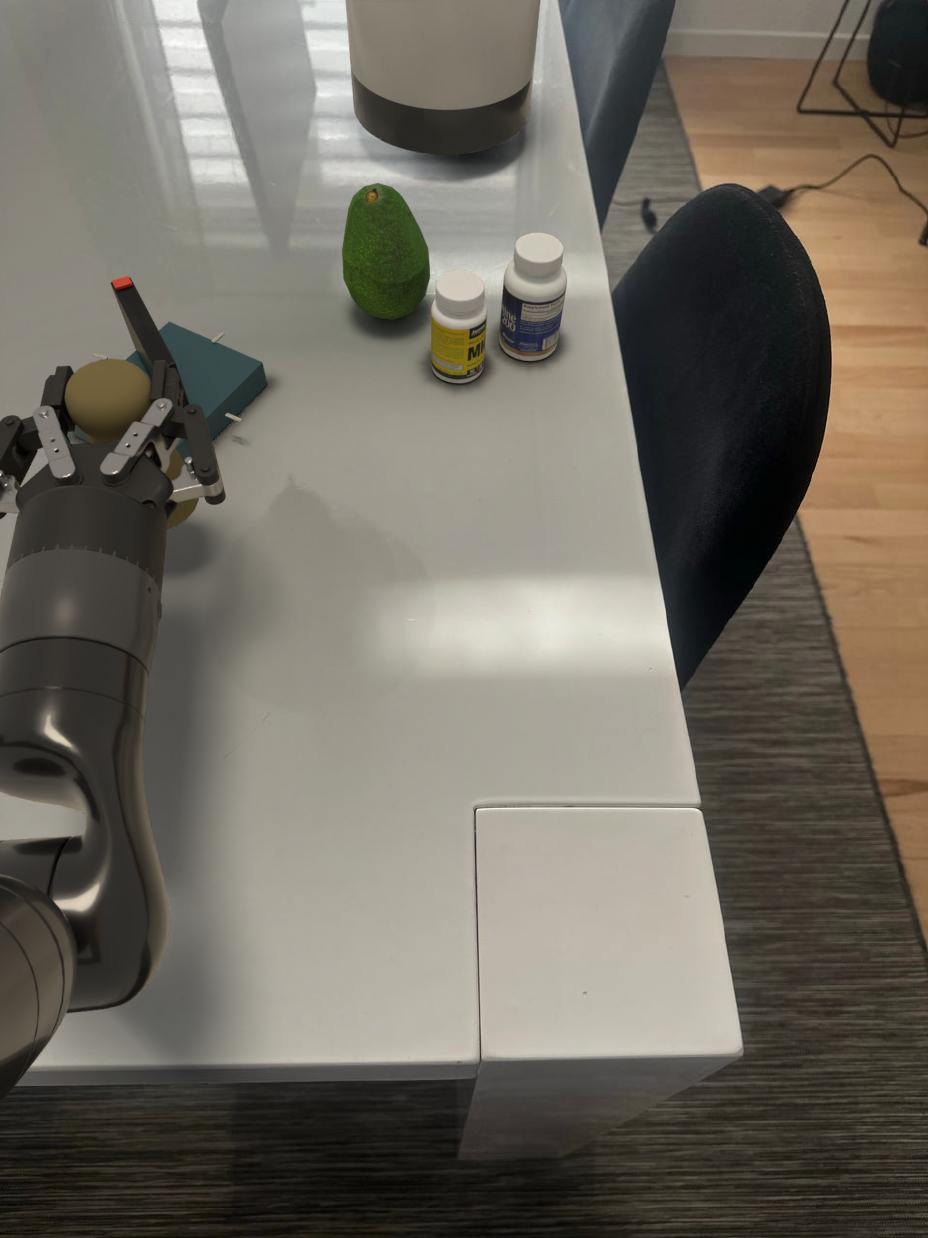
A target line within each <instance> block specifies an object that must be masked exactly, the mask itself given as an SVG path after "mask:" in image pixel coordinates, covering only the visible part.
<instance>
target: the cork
mask: <svg viewBox="0 0 928 1238" xmlns="http://www.w3.org/2000/svg"><path fill="white" fill-rule="evenodd" d="M125 360H126V359H120V358H108V359H98V360H94V361H91V362H89V363H87V364H85V365H83V366H82V367H80V368H78V369H77V370H76V371H75V372H74V374H73V375H72V376H71V378H70V380H69V381H68V383H67V386H66V390H65V404H66V407H67V410H68V413H69V415H70V417H71V419H72V421H73V422H74V423H75V424H76V425H77V426H78V427H79V428H80V429H81V430H82V431H83V432H84V433H85V434H87V435H89V436H90V439H91V443H92V444H97V445H100V444H104V443H108V442H112V441H121V439H122V438H123V436H124V435H125V433H126V432H127V430H128V429H129V427H130V426H131V424H132V423H133V422H134V421H138V422H140V421H141V420H142V418H143V417H144V415H145V414H146V412H147V411H148V409H149V408H150V406H151V405H152V404H151V401H150V392H151V383H152V382H151V380H150V378H149V377H148V376H147V374H146V373H145V372H143V371H142V370H141V369H140V368H139V367H137V366H136V365H134V364H132V363H130V362H127V361H125ZM184 464H185V463H184V462H183V460H182V458H181V456H180V455H179V453H178V451H177V450H176V448H174V450H173V452H172V453H171V455H170V465H169V468H168V469H167V471H166V473H165V474H166V475H167V476H168V478H169V479H170V480H174V479H176V478H178V477H179V476H180V474H181V468H182V466H183V465H184ZM199 501H200V498H196V499H191V500H187V501H183V502H178V506H177V508H176V510H175V511H174V513H173V514H172V515H171V517H170V518H169V520H168V523H167V531H168V530H171V529H174V528H176V527H178V526H179V525H180V524H182V523H183V522H185V521H187V520H188V519H189V517H190V516H191V515H192V514H193V513H194V512H195V510H196V508H197V506H198V503H199Z"/></svg>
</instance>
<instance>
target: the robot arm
mask: <svg viewBox="0 0 928 1238" xmlns="http://www.w3.org/2000/svg"><path fill="white" fill-rule="evenodd" d="M74 373H75V372H74V370H73V368H72V366H71V365H59V366H58V365H57V366H56V368H55V372H54V374H49V376H48V377H47V378H46V379H45V382H44V385H43V386H44V388H43V391H42V396H41V401H40V406H39V407H37V408H35V409H34V410H33V412H32V416H29V417H26V418H20V417H19V416H18V415H15V414H9V415H7V416H5V417H3V418H2V419H0V520H2V519H4V518H5V517H6V515H7V514H17V516H16V519H15V524H14V529H13V534H12V538H11V543H10V549H9V552H8V558H7V562H6V567H5V571H4V577H3V582H2V586H1V590H0V793H3V794H4V795H7V796H9V797H13V798H18V799H21V800H26V801H30V802H35V803H39V804H40V803H41V804H48V805H52V806H53V805H54V806H60V807H63V808H67V809H72V810H75V811H77V812H80V813H83V814H84V815H85V828H84V832H83V834H78V835H73V836H72V835H67V836H50V837H33V838H31V837H30V838H17V839H16V838H15V839H0V1105H1V1104H2V1103H3V1102H4V1100H5V1099H6V1098H7V1097H8V1096H9V1094H10V1093H11V1092H12V1090H13V1089H14V1088H15V1087H16V1086H17V1084H18V1083H19V1082H20V1080H21V1079H22V1078H23V1077H24V1075H25V1074H26V1073H27V1072H28V1070H29V1069H30V1067H32V1065H33V1064H34V1063H35V1062H36V1060H37V1059H38V1058H39V1056H40V1055H41V1054H42V1052H43V1051H44V1050H45V1049H46V1047H47V1045H49V1043H50V1041H51V1040H52V1039H53V1037H54V1036H55V1034H56V1033H57V1032H58V1029H59V1028H60V1026H61V1025H62V1023H63V1020H64V1018H65V1016H66V1015H67V1014H76V1013H86V1012H94V1011H95V1012H96V1011H104V1010H110V1009H113V1008H118V1007H121V1006H123V1005H126V1004H127V1003H130V1002H131V1001H133V1000H134V999H135V998H136V997H138V996H139V995H140V994H141V993H142V992H143V991H144V990H145V989H146V987H148V985H150V983H151V982H152V980H153V979H154V977H155V975H156V974H157V972H158V970H159V969H160V967H161V965H162V963H163V961H164V959H165V955H166V953H167V950H168V945H169V942H170V935H171V921H172V919H171V908H170V901H169V898H168V897H169V896H168V890H167V889H168V888H167V885H166V881H165V877H164V872H163V869H162V865H161V861H160V860H161V859H160V856H159V852H158V850H157V845H156V841H155V837H154V833H153V828H152V824H151V819H150V814H149V813H150V812H149V807H148V800H147V793H146V786H145V773H144V772H145V771H144V753H143V752H144V735H145V734H144V733H145V724H146V723H145V721H146V711H147V702H148V701H147V700H148V691H149V679H150V672H151V667H152V663H153V659H154V655H155V652H156V648H157V644H158V643H157V642H158V634H159V628H160V627H159V626H160V623H161V621H162V620H161V619H162V617H163V603H162V592H163V583H164V570H165V569H164V568H165V557H166V549H167V548H166V547H167V537H168V536H167V535H168V530H167V523H168V520H169V518H170V517H171V515H172V514H173V513H174V511H175V510H176V508H177V506H178V502H183V501H187V500H191V499H196V498H199V499H200V498H204V501H205V502H206V503H207V504H208V505H210V506H217V505H221V504H222V503H223V502H225V500H226V499H227V493H226V490H225V487H224V486H225V485H224V482H223V478H222V474H221V469H220V466H219V462H218V459H217V453H216V450H215V445H214V441H213V440H212V438H211V435H210V431H209V428H208V425H207V422H206V419H205V416H204V413H203V410H202V407H201V406H199V405H197V404H190V405H187V406H185V407H184V408H183V407H182V406H183V394H184V390H183V387H182V384H181V381H180V378H179V375H178V372H177V370H176V369H175V368H170V367H169V364H168V362H167V360H159V361H154V366H153V375H152V383H151V392H150V401H151V404H152V405H151V406H150V408H149V409H148V411H147V412H146V414H145V415H144V417H143V418H142V420H141V421H140V422H138V421H134V422H133V423H132V424H131V426H130V427H129V429H128V430H127V432H126V433H125V435H124V436H123V438H122V439H121V441H112V442H108V443H104V444H100V445H97V444H90V443H88V442H80V443H72V442H71V440H70V438H69V434H68V433H73V432H74V431H75V425H76V424H75V423H74V422H73V421H72V419H71V417H70V415H69V413H68V410H67V407H66V404H65V390H66V386H67V383H68V381H69V380H70V378H71V376H72V375H73V374H74ZM180 439H186V440H188V443H189V448H190V452H191V456H192V457H187V458H185V459H184V462H185V464H184V465H183V466H182V468H181V474H180V476H179V477H178V478H176V479H174V480H170V479H169V478H168V476H167V475H166V474H165V473H166V471H167V469H168V468H169V465H170V455H171V453H172V452H173V450H174V448H175V447H176V445H177V444H178V442H179V440H180ZM40 449H43V451H44V454H45V456H46V458H47V463H46V464H45V465H44V466H43V467H42V468H41V469H40V470H38V471H37V472H36V473H35V474H34V475H33V476H32V477H30V479H28V480H27V481H26V482H25V483H24V480H25V478H26V476H27V474H28V472H29V470H30V468H31V466H32V464H33V462H34V460H35V458H36V456H37V453H38V452H39V450H40ZM23 483H24V484H23Z"/></svg>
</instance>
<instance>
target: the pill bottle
mask: <svg viewBox="0 0 928 1238" xmlns="http://www.w3.org/2000/svg"><path fill="white" fill-rule="evenodd" d="M563 259H564V245H563V243H562V242H561V240H560V239H558V238H557V237H555V235H551V234H549V233H544V232H531V233H527V234H524V235H522V236H520V237H519V238H518V239H517V240H516V242H515V245H514V252H513V260H511V261H510V262H509V263H508V265H507V266H506V268H505V270H504V274H503V280H502V281H503V284H502V293H501V294H502V295H501V305H500V320H499V335H498V336H499V337H498V339H499V344H500V346H501V348H502V350H503V351H504V352H505V354H507V355H508V356H510V357H511V358H514V359H516V360H520V361H526V362H527V361H528V362H533V361H534V362H535V361H540V360H543V359H545V358H547V357H549V356H550V355H552V354H553V353H554V351H556V348H557V346H558V342H559V337H560V330H561V324H562V318H563V311H564V304H565V299H566V294H567V293H566V292H567V287H568V286H567V285H568V276H567V272H566V270H565V267H564V266H563V262H564V260H563Z"/></svg>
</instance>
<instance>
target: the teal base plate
mask: <svg viewBox="0 0 928 1238" xmlns="http://www.w3.org/2000/svg"><path fill="white" fill-rule="evenodd" d="M158 331H159V332H160V334H161V336H162V338H163V340H164V342H165V344H166V346H167V348H168V350H169V351H170V353H171V355H172V357H173V359H174V361H175V363H176V366H177V369H178V372H179V375H180V378H181V380H182V383H183V386H184V389H185V392H186V395H187V398H188V401H189V404H197V405H199V406H201V407H202V410H203V413H204V416H205V419H206V422H207V425H208V428H209V431H210V435H211V438H212V441H214V440H215V438H216V437H217V436H219V434H221V432H222V431H223V430H225V428H226V427H227V426H228V425H229V424H230V423H231V422H232V421H234V422H236V423H238V424H240V423H241V422H242V421H243V419H242V418H240V417H238V415H239V414H241V412H242V411H243V410H244V409H246V407H247V406H249V404H250V403H251V402H252V401H253V400H254V399H255V398H256V397H257V396H258V395H259V394H260V393H261V392H262V391H263V390H264V389H265V388H266V387H267V385H268V380H267V376H266V372H265V367H264V362H263V361H260V360H258V359H256V358H254V357H252V356H249V355H247V354H245V353H242V352H241V351H238V350H236V349H233V348H231V347H228V346H226V345H225V344H222V343H220V342H219V341H220V340H221V339H222V338H223V337H224V336H225V335H226V334H225V332H223V331H220V332H219V333H218V334H217V335H216V336H215V337H213V339H211V338H208V337H206V336H203V335H201V334H199V333H196V332H195V331H192V330H189V329H188V328H185V327H183V326H181V325H178V324H176V323H174V322H172V321H168V322H167V323H166V324H164V325H163V326H161V328H159V329H158ZM92 356H93V357H95V358H97V359H98V360H102V359H109V357H108V356H105V355H104V354H102V353H100V352H97V351H94V352H93V353H92ZM124 360H125V361H127V362H130V363H132V364H134V365H136V366H137V367H139V368H140V369H141V370H142V371H143V372H145V373H146V374H147V376H148V377H149V375H148V373H147V371H146V369H145V367H144V365H143V363H142V361H141V359H140V357H139V355H138V353H137V351H136V350H135V351H134V352H132V353H130V355H129V356H128V357H127V358H125V359H124ZM149 378H150V377H149ZM150 380H151V379H150ZM151 382H152V381H151ZM72 434H73V436H74V437H76V438H78V439H80V440H82V441H84V442H85V443H89V444H92V443H91V439H90V436H89V435H87V434H85V433H84V432H83V431H82V430H81V429H80V428H79V427H78V426H77V425H75V431H74V432H72ZM175 448H176V450H177V451H178V453H179V455H180V456H181V458H182V460H183V462H184V459H185V458H187V457H192V456H191V452H190V448H189V443H188V440H186V439H180V440H179V442H178V444H177V445H176V447H175ZM184 463H185V462H184Z"/></svg>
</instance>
